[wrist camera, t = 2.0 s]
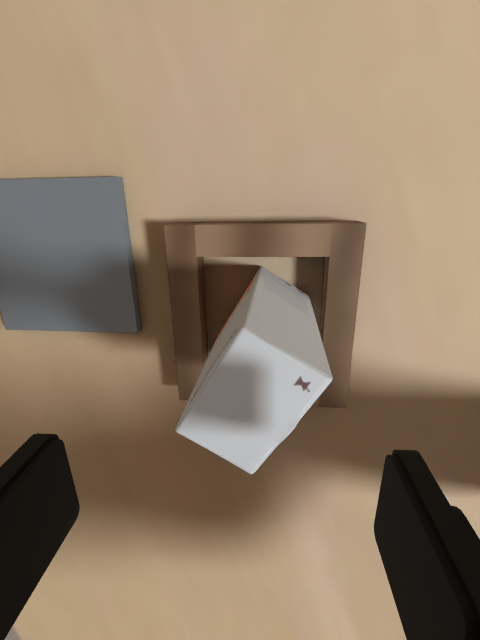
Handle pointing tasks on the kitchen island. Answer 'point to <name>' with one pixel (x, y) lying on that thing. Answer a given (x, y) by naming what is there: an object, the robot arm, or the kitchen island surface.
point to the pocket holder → (266, 241)
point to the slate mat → (66, 256)
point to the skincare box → (258, 375)
